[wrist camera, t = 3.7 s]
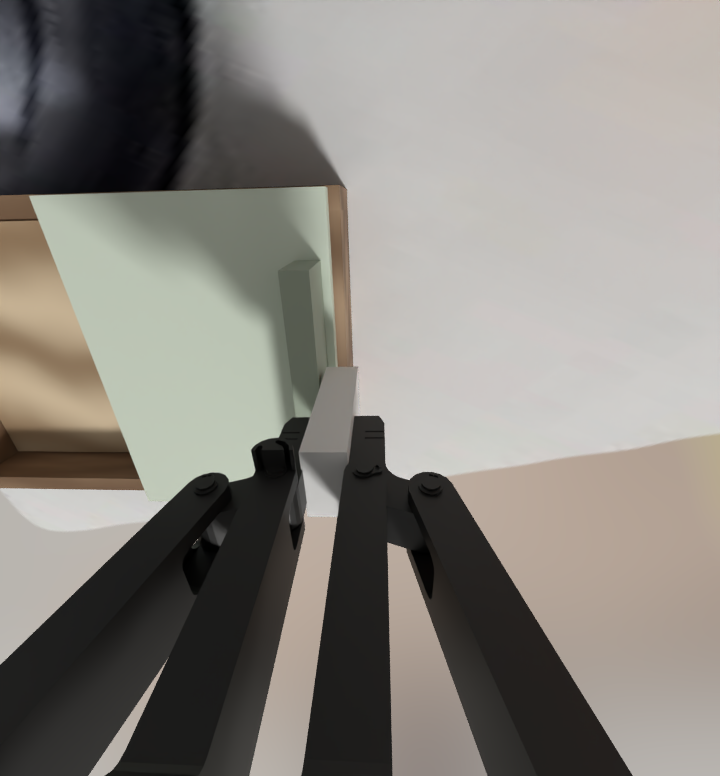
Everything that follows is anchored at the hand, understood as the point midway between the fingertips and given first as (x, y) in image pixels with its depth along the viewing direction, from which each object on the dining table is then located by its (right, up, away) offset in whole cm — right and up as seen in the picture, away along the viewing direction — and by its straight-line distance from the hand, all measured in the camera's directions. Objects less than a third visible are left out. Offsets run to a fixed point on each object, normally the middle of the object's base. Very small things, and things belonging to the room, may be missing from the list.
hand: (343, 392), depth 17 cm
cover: (-7, +1, +3) cm, 8 cm away
